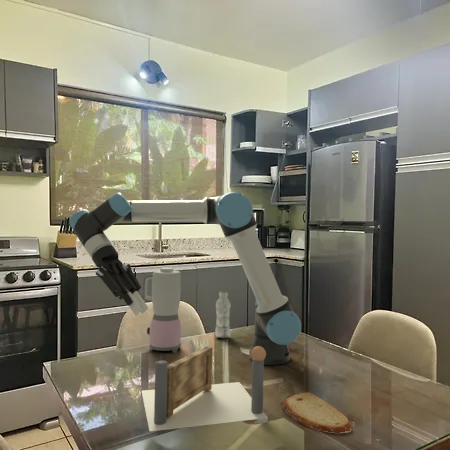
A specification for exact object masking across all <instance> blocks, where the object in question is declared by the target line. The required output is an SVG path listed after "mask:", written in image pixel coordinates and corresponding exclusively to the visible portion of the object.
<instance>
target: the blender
mask: <svg viewBox="0 0 450 450" xmlns="http://www.w3.org/2000/svg"><path fill="white" fill-rule="evenodd" d="M182 274H183V273H182V272H180V271H179V270H174V268H173V267H160V269H158V270H154V271H153V272H152V274H148V275H145V277H144V278H143V283H142V285H143V286H142V291H143V292H142V295H143V296H142V298H143V300H144V301H145V300H146V301H148V302H151V303H152V310H153V315H152V316H153V317H152V318H151V320H150V323H149V326H148V327H147V329H146V334H147V335H149V351H150V352H153V351H154V350H155V351H163V352H164V351H165V352H166V351H171V353H173V354H174V353H177V352H178V349H180V348H181V346H182V345H181V344H182V342H181V340H182V339H181V337H182V333H181V332H182V324H181V320H180V318H179V308H180V304H181V303H180V302H181V295H182V294H181V293H182V292H181V288H182V287H181V286H182V283H181V282H182V281H181V280H182V277H181V275H182ZM149 280H151V296H150V295H148V286H149V285H148V282H149Z"/></svg>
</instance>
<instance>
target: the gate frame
mask: <svg viewBox="0 0 450 450" xmlns="http://www.w3.org/2000/svg"><path fill="white" fill-rule="evenodd" d="M251 357H252V359H253V361H252V360H251V363H252V368H251V370H252V371H251V372H252V373H251V395H250V394H249V393H248V391H247V390H246V389H245V387H243V385H242V384H241V382H239V381H238V382H237V381H236V382H224V383H215V384H213V383H212V389H211V390H210V391H208V392H207V391H202V392H201V393H199V394H197V395H196V396H194V397H193V398H191V399H190V400H188V401H187V402H185V403H184V404H182V405H181V406H179V407H177V408H176V409H174V410H173V415H172V416H171V417H169V418H166V412H167V368H168V365H169V364H168V361H167V360H156V361H155V363H154V364H155V366H154V367H155V368H154V389H143V390H141V395H142V401H143V405H144V410H145V415H146V419H147V420H146V421H147V426H148V430H149V432H157V431H165V430H166V431H167V430H175V429H182V428H183V429H184V428H191V427H201V426H210V425H217V424H218V425H219V424H220V425H221V424H227V423H228V424H229V423H235V422H245V421H254V420H255V422H253V423H252V424H253V425H258V424H266V423H267V424H268V421H269V417H268V416H267V415H266V414H265V412H264V410H263V409H264V408H263V407H264V371H265V370H264V369H265V366H264V359H265V357H266V351H265V349H264V348H263V347H261V346H256V347H254V348H253V349H252V350H251Z"/></svg>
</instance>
